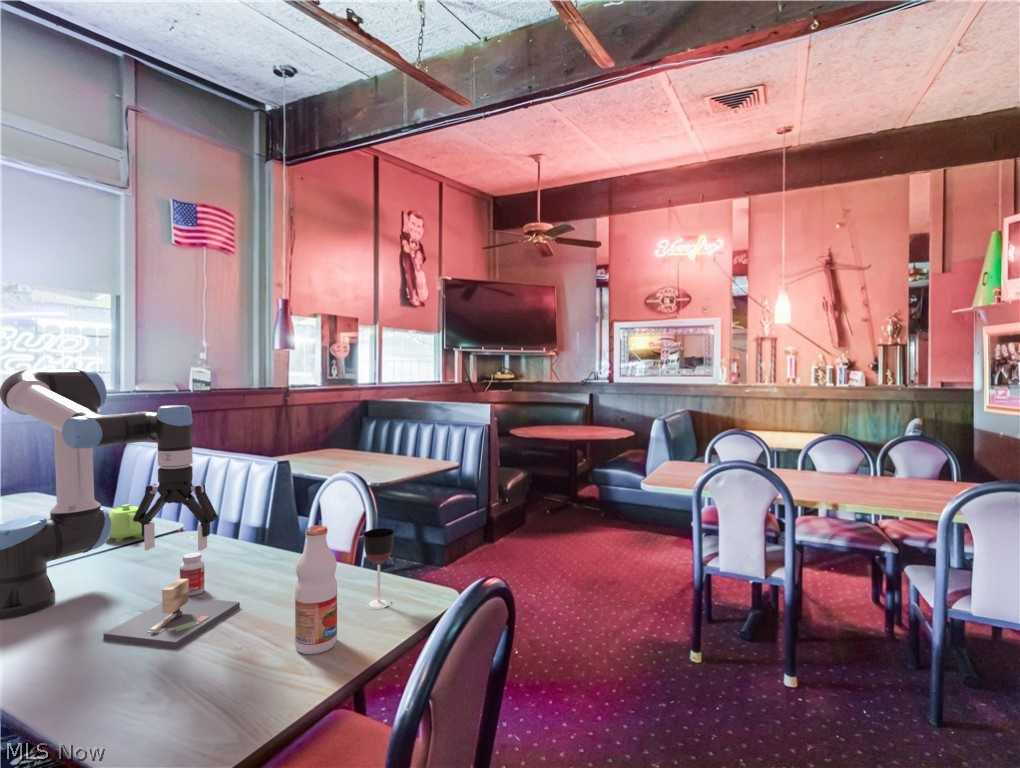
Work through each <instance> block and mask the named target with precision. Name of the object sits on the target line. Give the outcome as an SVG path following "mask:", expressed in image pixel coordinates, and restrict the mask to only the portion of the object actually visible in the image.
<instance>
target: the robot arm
mask: <svg viewBox="0 0 1020 768" xmlns="http://www.w3.org/2000/svg"><path fill="white" fill-rule="evenodd" d="M107 396H108V395H107V388H106V385H105V382H104V380H103V378H102V377H101V375H100V374H99V373H97V372H96V371H95V370H92V369H84V368H83V369H82V368H29V369H24V370H21V371H17V372H15V373H13V374H11V375H10V376H8V377H7V378H6V379H5V380H4V381H3V382H2V384H1V385H0V400H1V402H2V404H3V405H4V406H5V407H6V408H7V409H8V410H10V411H12V412H13V413H16V414H18V415H21V416H22V415H23V416H31V417H33V418H34V419H36V420H38V421H40V422H42V423H44V424H46V425H47V426H50V427H51V428H53V432H54V433H53V434H54V435H53V436H54V461H55V462H54V464H55V488H56V490H55V492H56V496H55V497H56V504H55V506H54V507H53V508H52V509H50V512H49V513H50V516H49V517H50V518H46V517H45V516H43V515H32V516H27V517H20V518H19V517H18V518H15V519H12V520H8V521H6V522H3V523H0V620H4V619H5V620H6V619H10V618H16V617H17V618H18V617H21V616H26V615H28V614H32V613H35V612H38V611H40V610H43V609H45V608H48V607H49V606H51V605H52V604H53V603H54V602H55V601H56V590H55V588H54V587H53V584H52V581H51V580H50V577H49V576H48V573H47V572H48V570H47V569H48V567H47V566H48V565H47V563H49V562H52V561H56V560H60V559H63V558H67V557H71V556H74V555H79V554H85V553H88V552H90V551H93V550H96V549H99V548H100V547H102V546H104V545H105V544H106V542H107V541H108V539H110V537H109V535H110V532H111V518H110V517H109V514H110V512H108V510H107V509H105V508H102V504H101V503H100V502H98V501H97V500H96V499H95V483H94V482H95V481H94V458H93V457H94V456H93V448H99V447H107V446H116V445H122V444H123V445H125V444H133V443H143V442H144V443H145V442H157V466H158V467H159V468H158V469H157V482H158V485H157V484H156V483H152V484H150V485H146V487H145V491H144V496H143V498H142V500H141V502H140V504H139V506H138V507H139V508H138V510H137V512H136V514H135V516H134V518H133V521H134V522H140V523H141V525H142V534H141V536H142V537H144V551H150V550H151V549H153V548H155V547H156V545H155V543H156V542H155V538H156V537H155V535H156V534H155V531H156V530H155V529H156V528H155V521H153V519H154V518H155V517H156V515H157V514H158V513H159V512H160V510H162V508H163V507H164V506H165V505H166V504H173V503H174V504H180V503H182V505H183V506H186V508H188V510H189V511H190V512H191V514H192V515H194V517H195V518H196V520H198V521H199V524H198V525H197V550H198V551H200V552H201V551H203V550H205V549H206V548H208V536H210V534H211V523H213V522H214V521H216V520H218V518H219V517H218V514H217V512H216V510H215V508H214V506H213V503H212V501H211V500H210V498H209V496H208V493H206V491H207V490H206V485H205V484H204V483H202V484H199V485H193V476H194V475H193V470H194V469H193V466H192V464H193V461H194V460H193V422H194V420H193V415H192V408H191V407H190V406H189V405H178V404H177V405H176V404H175V405H161V406H159V407H158V408H157V412H154V411H153V412H152V411H151V410H148V411H147V410H145V411H136V412H132V413H131V412H130V413H119V414H118V413H115V414H114V413H113V414H100V413H98V409H99V408H101V407H104V405H105V403H106V400H107ZM157 493H158V494H159V497H158V498H157V499H156V501H155V503H154V504H153V505H152V503H153V501H154V499H155V496H156V494H157ZM192 493H193V494H194V495H195V496H194V495H193V494H192ZM196 499H197V501H198V502H197V501H196ZM151 505H152V506H151ZM150 507H151V508H150ZM149 508H150V509H149Z"/></svg>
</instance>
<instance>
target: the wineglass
mask: <svg viewBox="0 0 1020 768" xmlns="http://www.w3.org/2000/svg"><path fill="white" fill-rule="evenodd" d="M394 539H395V531H394V530H393V529H392V528H385V527H383V528H381V527H380V528H374V529H369V530H367V531H365V532H364V533H363V545H364V552H365V553H364V554H365V556H366V559H367V560H368V561H369V562H371V563H373V564H376V565H377V566H376V567H377V569H376V570H377V575H376V576H377V578H376V579H377V580H376V581H377V582H376V583H377V585H376V586H377V588H376V592H377V593H376V595H377V596H376V597H377V598H376V599H377V600H373V601H371V602H370V603H369V605H370V606H372V607H374V606H375V607H379V606H382V605H385V604H386V603H387V601H385V600H380V598H381V564H383V563H384V562H385V561H387V560H388V559H389V558H390V557H391V555H392V552H393V548H394Z"/></svg>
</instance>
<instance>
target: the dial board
mask: <svg viewBox="0 0 1020 768" xmlns="http://www.w3.org/2000/svg"><path fill="white" fill-rule="evenodd" d="M240 607H241V603H240V601H232V600H231V601H230V600H221V599H213V598H212V599H210V598H203V597H202V598H201V597H193V596H189V602H187V603H186V604H184V605H183V606H182V607H180V611H182V616H180V617H177V618H173V619H171V620H170V621H169V622H167V623H166V624H165V625H163V626H162V627H161V628H159V629H158V630H156V631H155V632H150V629H151V628H152V627H153V626H155V625H156V624H158V623H159V622H161V621H162V620H163V619H165V618H166V617H168V616H169V615H170V613H162V602H161V603H159V604H158V605H156V606H153V607H152V608H149V609H147V610H146V611H143V612H142V613H140V614H138V615H137V616H135V617H132V618H130V619H128V620H127V621H125V622H123V623H121V624H119V625H117V626H115V627H113V628H112V629H109V630H107V631H106V632H104V633H102V636H103V638H102V640H103V641H112V642H119V643H128V644H137V645H145V646H151V647H152V646H153V647H159V648H160V647H161V648H169V649H177V648H179V647H180V646H182V645H184V644H186V643H187V642H189V641H190V640H191V639H193V638H194V637H196V636H198V635H200V634H201V633H203V632H204V631H205V630H207V629H209V628H210V627H211V626H213V625H215V624H216V623H218V622H219V621H221V620H223V619H224V618H226V617H227V616H229V615H230V614H232V613H234V612H235V611H237V610H238V609H240Z"/></svg>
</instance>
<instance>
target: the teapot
mask: <svg viewBox="0 0 1020 768" xmlns="http://www.w3.org/2000/svg"><path fill="white" fill-rule="evenodd" d="M138 508H139V506H134V505H133V506H131V504H129V503H128V504H127V503H125V504H122V505H121V507H120V506H115V507H114V508H113V509H112V510H110V512H109V517H110V518H111V532H110V535H109V539H112V540H113V539H115V541H114V542H115V543H119V542H120V543H121V542H123V541H124V538H129V537H133V539H140V538H142V537H143V536H142V525H141V523H140V522H134V521H133V518H134V516H135V514H136V512H137V510H138Z"/></svg>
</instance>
